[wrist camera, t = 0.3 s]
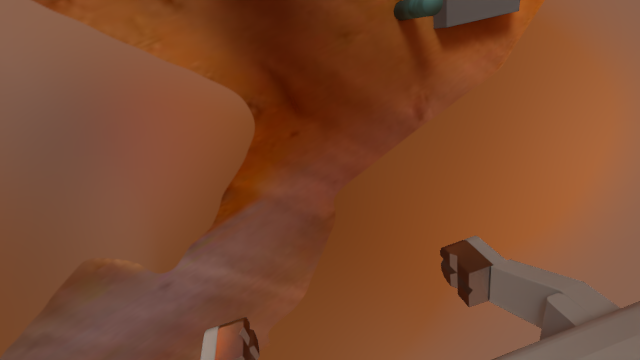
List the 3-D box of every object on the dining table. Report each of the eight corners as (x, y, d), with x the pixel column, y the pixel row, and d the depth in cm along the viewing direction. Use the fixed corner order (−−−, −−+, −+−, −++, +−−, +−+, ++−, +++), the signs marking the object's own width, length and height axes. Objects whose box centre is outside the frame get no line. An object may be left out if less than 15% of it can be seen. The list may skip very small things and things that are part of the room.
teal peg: (393, 2, 51) (423, -7, 42) (409, -1, 51) (442, -11, 42) (394, 21, 52) (424, 17, 43) (410, 18, 53) (442, 13, 44)
